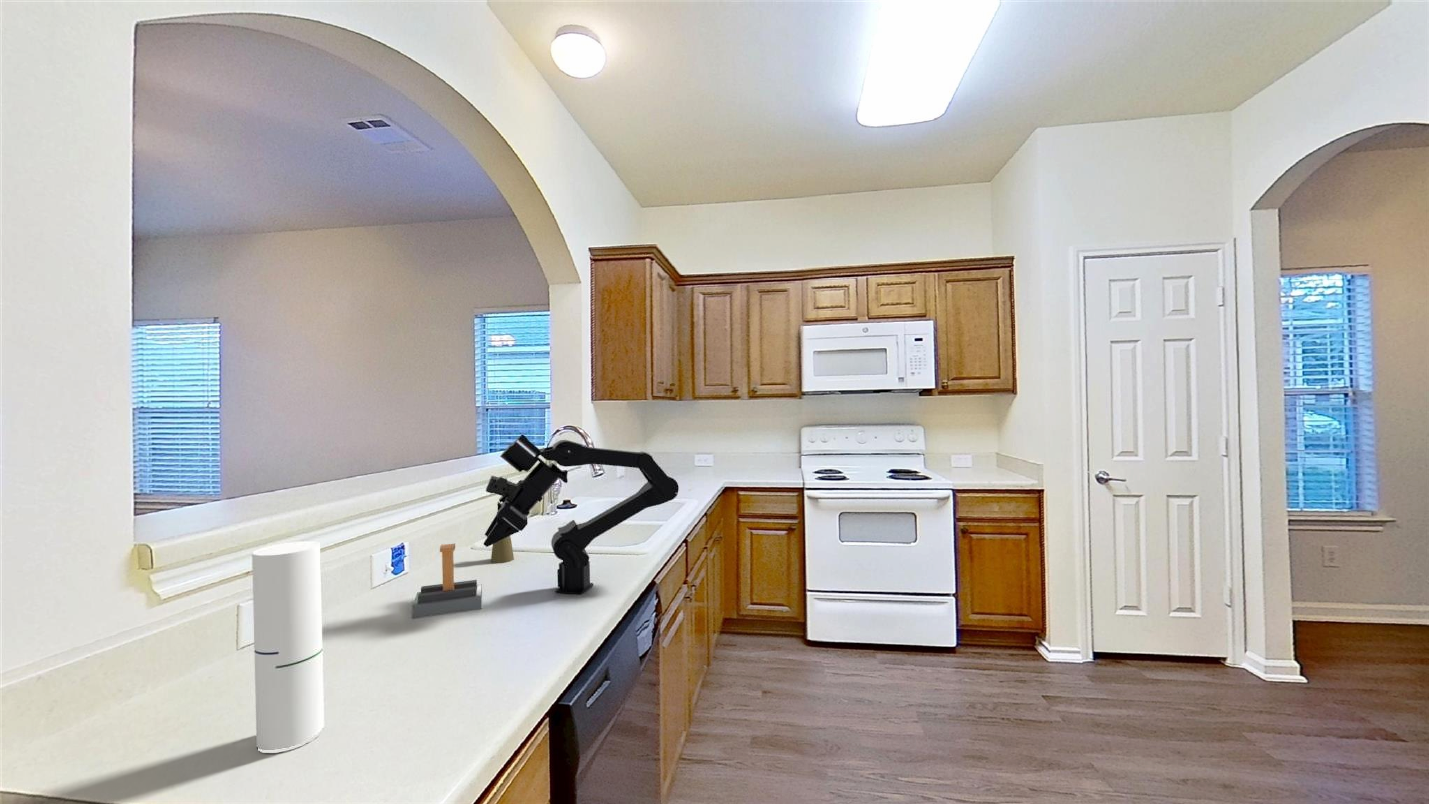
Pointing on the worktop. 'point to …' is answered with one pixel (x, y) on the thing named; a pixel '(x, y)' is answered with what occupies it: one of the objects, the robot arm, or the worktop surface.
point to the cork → (502, 551)
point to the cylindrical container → (287, 644)
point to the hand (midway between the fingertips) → (485, 540)
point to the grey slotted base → (447, 599)
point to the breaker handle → (448, 566)
